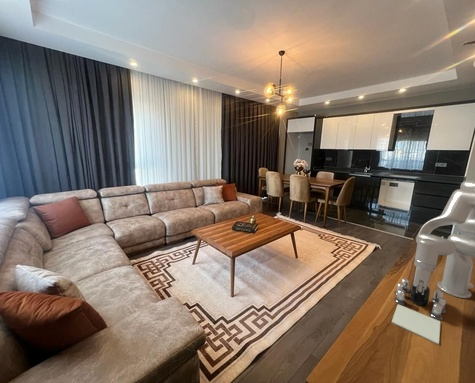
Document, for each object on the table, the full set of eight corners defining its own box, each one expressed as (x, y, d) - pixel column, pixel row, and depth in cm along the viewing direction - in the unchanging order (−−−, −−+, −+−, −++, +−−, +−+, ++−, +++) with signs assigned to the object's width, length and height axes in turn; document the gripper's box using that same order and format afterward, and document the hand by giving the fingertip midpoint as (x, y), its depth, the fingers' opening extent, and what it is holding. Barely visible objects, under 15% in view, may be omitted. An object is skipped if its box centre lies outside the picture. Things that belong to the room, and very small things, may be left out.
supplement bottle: (423, 298, 104) (427, 277, 102) (430, 308, 98) (434, 286, 96) (407, 296, 106) (410, 275, 104) (413, 305, 100) (416, 283, 98)
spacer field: (397, 285, 115) (398, 275, 114) (446, 303, 101) (448, 292, 100) (391, 300, 103) (392, 290, 102) (445, 323, 89) (447, 311, 88)
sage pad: (397, 305, 100) (397, 304, 100) (440, 322, 90) (440, 321, 89) (391, 322, 90) (391, 321, 90) (438, 344, 79) (438, 343, 79)
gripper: (416, 255, 107) (411, 285, 110) (412, 268, 95) (407, 301, 98) (436, 260, 102) (430, 292, 105) (434, 274, 90) (428, 309, 93)
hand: (419, 296), depth 102 cm, fingers closed on supplement bottle, 6 cm apart
